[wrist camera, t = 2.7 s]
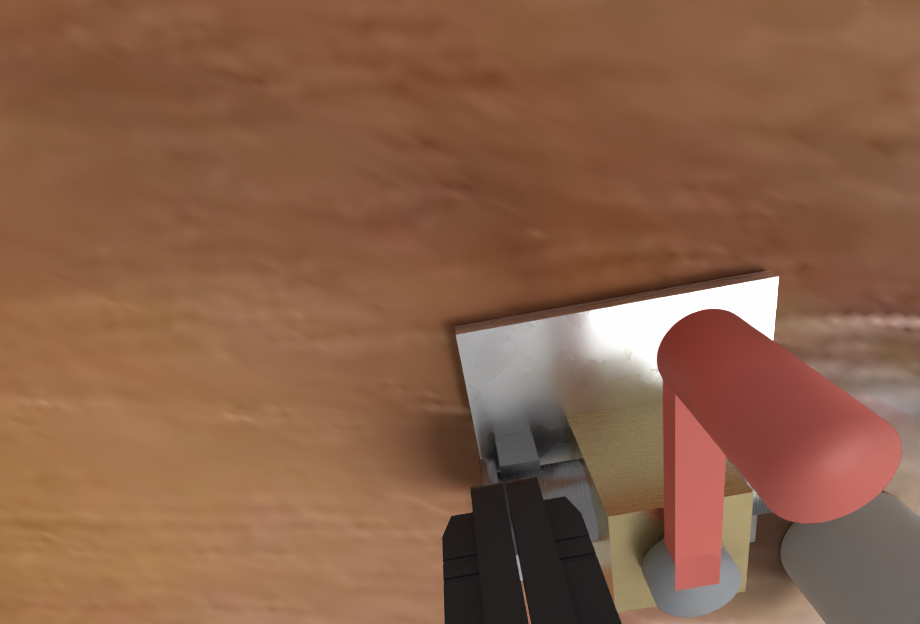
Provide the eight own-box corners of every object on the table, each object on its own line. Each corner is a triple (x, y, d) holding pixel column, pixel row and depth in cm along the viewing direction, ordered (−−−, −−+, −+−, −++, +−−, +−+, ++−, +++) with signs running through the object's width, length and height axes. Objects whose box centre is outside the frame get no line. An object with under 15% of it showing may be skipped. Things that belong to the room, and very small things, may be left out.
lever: (723, 583, 22) (837, 773, 16) (642, 596, 22) (724, 790, 16) (741, 285, 16) (928, 399, 10) (631, 304, 16) (751, 429, 10)
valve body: (766, 270, 25) (903, 341, 18) (745, 528, 32) (837, 655, 25) (454, 326, 25) (463, 418, 18) (503, 569, 33) (523, 706, 25)
